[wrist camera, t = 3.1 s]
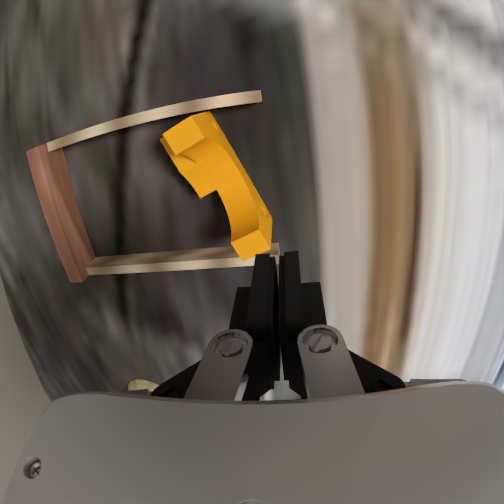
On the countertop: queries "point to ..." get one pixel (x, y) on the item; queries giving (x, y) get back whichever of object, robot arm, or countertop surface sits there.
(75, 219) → the guide channel
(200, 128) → the pipe clamp
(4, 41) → the countertop surface
